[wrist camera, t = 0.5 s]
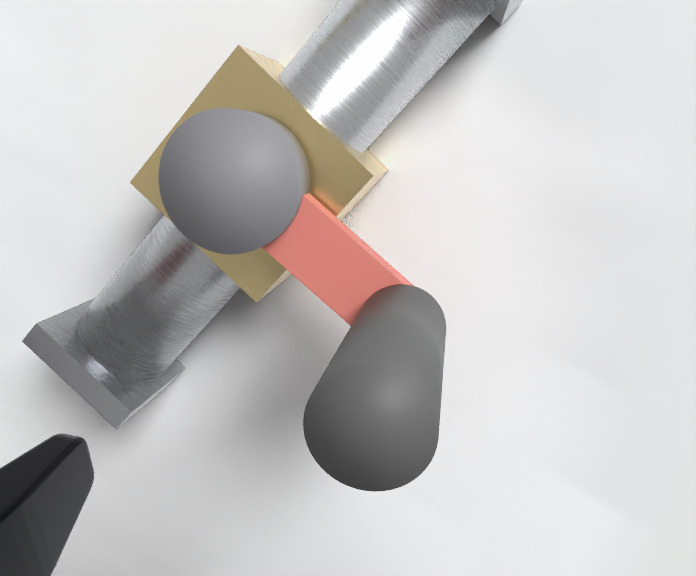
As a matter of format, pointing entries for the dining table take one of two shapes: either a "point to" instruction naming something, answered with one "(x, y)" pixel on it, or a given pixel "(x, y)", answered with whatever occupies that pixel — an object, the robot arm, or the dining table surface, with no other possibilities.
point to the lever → (318, 292)
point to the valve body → (326, 187)
